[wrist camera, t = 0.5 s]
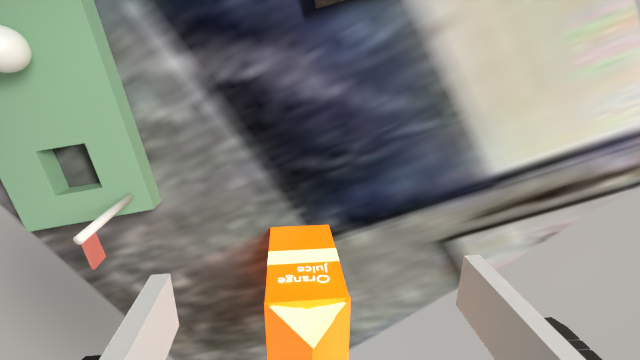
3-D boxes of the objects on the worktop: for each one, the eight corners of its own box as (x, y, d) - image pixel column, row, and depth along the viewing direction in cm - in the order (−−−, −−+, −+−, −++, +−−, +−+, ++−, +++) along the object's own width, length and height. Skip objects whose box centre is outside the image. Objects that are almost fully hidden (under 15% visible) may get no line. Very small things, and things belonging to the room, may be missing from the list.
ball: (-14, 30, 31) (-55, 25, 27) (31, 23, 31) (-4, 17, 27) (6, 75, 32) (-30, 76, 28) (49, 68, 32) (18, 69, 29)
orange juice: (272, 285, 46) (264, 439, 27) (269, 226, 43) (258, 353, 24) (329, 281, 46) (360, 428, 28) (330, 224, 44) (365, 344, 25)
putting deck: (-104, -81, 30) (-358, -177, 18) (58, -103, 30) (-84, -209, 19) (46, 229, 40) (-53, 298, 28) (164, 208, 41) (115, 266, 29)
